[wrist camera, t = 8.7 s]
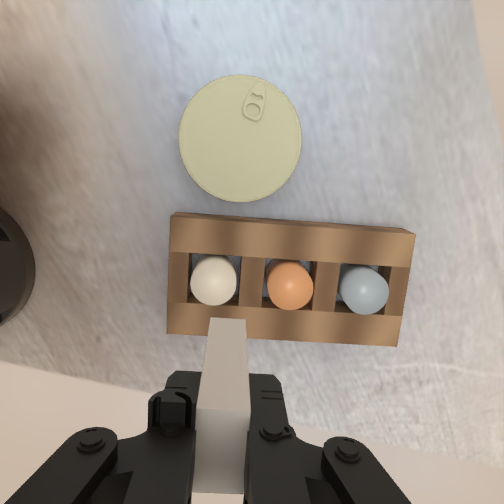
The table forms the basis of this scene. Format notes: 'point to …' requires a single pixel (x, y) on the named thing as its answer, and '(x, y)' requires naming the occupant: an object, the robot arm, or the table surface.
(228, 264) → the white egg
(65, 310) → the table surface
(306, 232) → the wooden egg holder
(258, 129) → the can
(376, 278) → the blue-grey egg
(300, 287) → the orange egg
